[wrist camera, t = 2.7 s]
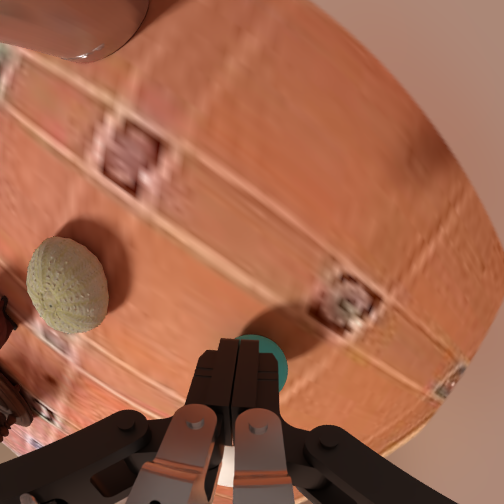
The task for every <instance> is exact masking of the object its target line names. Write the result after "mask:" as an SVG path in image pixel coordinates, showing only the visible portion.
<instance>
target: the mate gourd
mask: <svg viewBox="0 0 504 504" xmlns="http://www.w3.org/2000/svg"><path fill="white" fill-rule="evenodd" d="M7 301H8V299H7V298H6V296H3V297H2V299H1V301H0V349H1V348H2V346H3V345H4V344H5V342H6V341H7V340H8V338H9V336H10V334H11V332H12V330H13V329H14V330H16V329H17V325H16V324H15V323H14V321H13V320H12V319H11V318H10V317H9V316H8V315H7V313H6V312H5V308H6V305H7Z"/></svg>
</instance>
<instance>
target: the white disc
mask: <svg viewBox="0 0 504 504" xmlns="http://www.w3.org/2000/svg"><path fill="white" fill-rule="evenodd" d="M234 458H235V446H225V447H224V454H223V459H222V467H221V471H220V475H219V479H218V483H217V484H218V485H222V486H228V487H233V478H234Z"/></svg>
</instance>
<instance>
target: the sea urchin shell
mask: <svg viewBox="0 0 504 504" xmlns="http://www.w3.org/2000/svg"><path fill="white" fill-rule="evenodd" d="M26 285H27V290H28V291H27V292H28V294H29V296H30V297H31V299H32V302H33V305H34V306H35V308H36V309H37V311H38V313H39V314H40V317H42V318H43V319H44V320H45V322H46V323H47V324H48V325H49V326H50V327H52V328H54V330H58V331H62V332H64V333H65V332H66V333H67V334H69V333H70V334H72V333H83V332H86V331H90V330H92V329H93V328H95V327H98V325H100V323H101V322H102V321H103V320H104V318H105V316H106V315H107V307H108V302H109V301H108V299H109V294H108V289H107V287H108V286H107V279H106V277H105V274H104V270H103V266H102V264H101V263H100V262H99V260H98V259H97V257H96V256H95V255H94V254H93V253H91V252H90V251H89V250H88V249H87V247H86V246H83V245H81V244H79V243H77V242H76V241H73V240H72V239H71V238H62V237H57V236H55V237H54V236H53V237H51V238H47V239H46V240H44V241H43V242H42V244H41V245H40V246H39V247H38V248H37V249H35V252H34V253H33V256H32V259H31V261H30V262H29V266H28V271H27V280H26Z"/></svg>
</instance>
